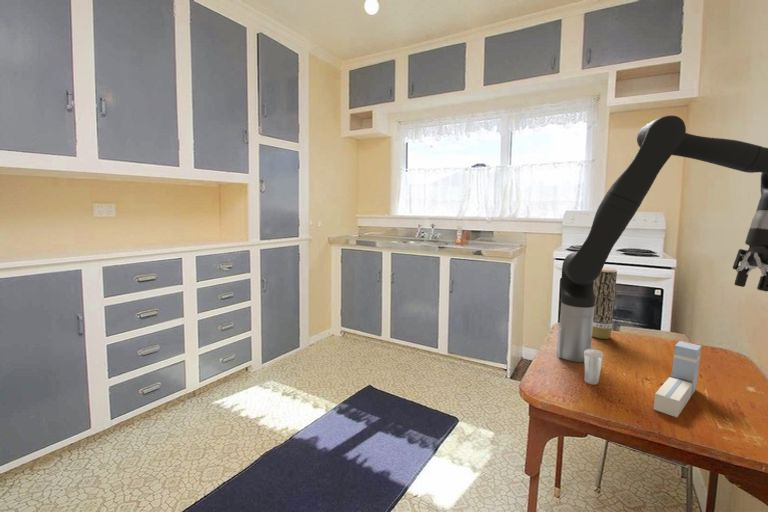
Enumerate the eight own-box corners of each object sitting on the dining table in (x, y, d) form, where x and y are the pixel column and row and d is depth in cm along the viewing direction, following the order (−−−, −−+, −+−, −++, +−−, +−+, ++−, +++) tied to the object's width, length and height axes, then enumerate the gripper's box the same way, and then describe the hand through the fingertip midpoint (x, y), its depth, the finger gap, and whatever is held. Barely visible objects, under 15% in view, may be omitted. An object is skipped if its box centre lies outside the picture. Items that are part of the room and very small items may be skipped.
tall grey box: (674, 383, 102) (679, 340, 100) (696, 389, 99) (701, 345, 97) (669, 389, 99) (674, 345, 97) (691, 396, 95) (697, 350, 94)
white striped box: (669, 389, 98) (671, 374, 98) (691, 396, 95) (693, 380, 95) (653, 409, 89) (655, 392, 88) (677, 417, 86) (679, 400, 85)
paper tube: (585, 333, 141) (591, 267, 138) (602, 333, 142) (608, 267, 138) (597, 340, 135) (603, 270, 131) (615, 339, 135) (621, 270, 132)
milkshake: (598, 378, 105) (601, 343, 103) (602, 387, 100) (605, 350, 98) (579, 375, 106) (582, 341, 105) (583, 384, 101) (586, 348, 100)
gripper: (734, 227, 108) (717, 281, 110) (773, 226, 94) (754, 288, 96) (764, 232, 107) (747, 288, 109) (809, 232, 93) (788, 296, 95)
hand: (750, 288), depth 102 cm, fingers open, 8 cm apart
